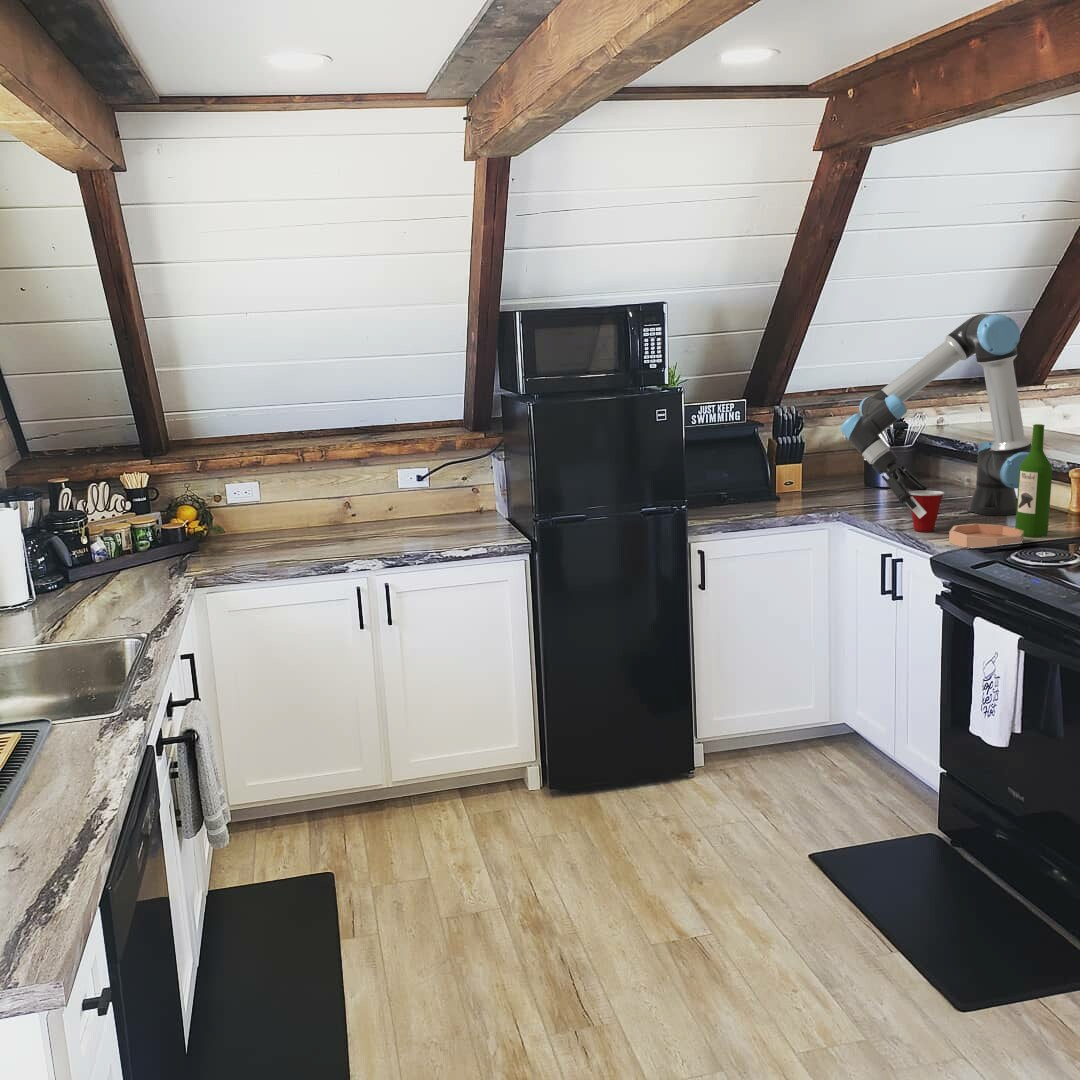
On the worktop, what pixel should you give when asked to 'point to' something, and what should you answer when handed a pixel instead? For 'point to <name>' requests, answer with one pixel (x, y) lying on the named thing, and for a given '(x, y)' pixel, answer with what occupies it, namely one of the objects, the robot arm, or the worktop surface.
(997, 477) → the robot arm
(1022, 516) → the wine bottle
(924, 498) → the plastic cup
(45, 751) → the worktop surface
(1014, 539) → the terracotta bowl
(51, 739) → the worktop surface
